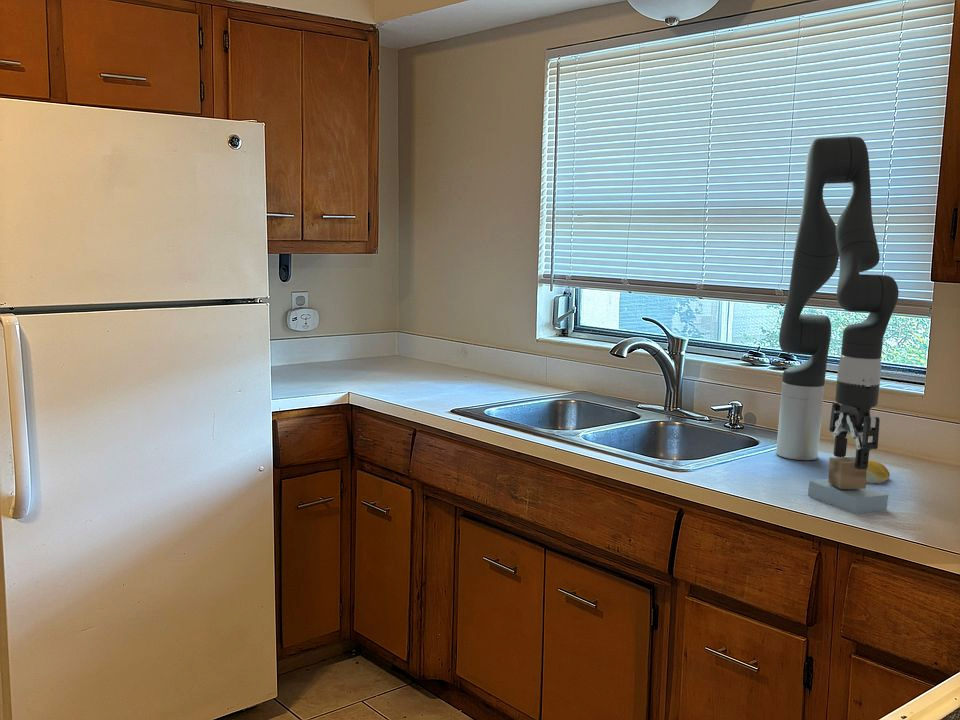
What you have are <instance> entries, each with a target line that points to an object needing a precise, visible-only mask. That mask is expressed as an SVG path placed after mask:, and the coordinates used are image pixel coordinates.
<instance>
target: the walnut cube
mask: <svg viewBox="0 0 960 720" xmlns="http://www.w3.org/2000/svg"><path fill="white" fill-rule="evenodd" d="M855 458H856V456H848V457H847V456H845V457H836V456H833V457H832V456H829V458H828V459H829V462H828V463H829V464H828V478H827V479H828V482H829V483H830V484H832V485H834V486H836V487H838V488H839V489H866V487H867V483H866V472H867V469H857V468H855Z"/></svg>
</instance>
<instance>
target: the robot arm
mask: <svg viewBox="0 0 960 720" xmlns="http://www.w3.org/2000/svg"><path fill="white" fill-rule="evenodd" d="M807 150H808V151H807V155H806V162H805V173H804V182H803V183H804V185H803V195H802V196H803V197H802V206H801V212H800V213H801V214H800V219H799V224H798V230H797V233H796V239H795V246H794V251H793V259H792V264H791V273H790V281H789V282H790V283H789V288H788V293H787V298H786V301H785V306H784V311H783V315H782V319H781V323H780V328H779V335H778V336H779V337H778V338H779V339H778V344H779V348H780V350H782V352H784V353H787V354H794V355H811V357H810V358H809V360H807V361H805V362H804V363H801V364H798V365H796V366H791V367H788V368H786V369H785V370H784V371H783V372H782V378H781V379H782V380H781V381H782V382H781V393H780V394H781V395H780V403H779V404H780V405H779V415H778V425H777V437H776V438H777V439H776V449H775V453H776V455H777V456H779V457H782V458H786V459H790V460H798V461H812V460H813V461H814V460H817V459H818V456H819V449H820V448H819V447H820V446H819V445H820V437H821V428H822V427H821V426H822V425H821V424H822V416H823V406H824V394H825V393H824V392H825V382H826V375H827V374H826V372H827V364H828V356H829V350H830V349H829V348H830V343H831V337H832V322H831V319H830V318H829V316H828V315H824V314H810V313H807V314H806V313H802V311H803V309H804V308H805V306H806V304H807V303H808V301H809V300H810V299H811V298H812V297H813V295H814V294H816V293H817V291H819V290H820V289H821V288H822V287H823V286H824V285H825V284H826V283H827V282H828V281H829V280H830V278H831V277H833V275H834V273H835V272H836V271H837V268H838V265H839V275H838V281H837V289H836V300H837V303H838V305H839V306H840V307H841V308H842V309H843V310H845V311H846V312H851V313H857V312H858V313H860V312H861V313H869V314H868V315H867V317H866V319H864V321H862V322H859V323H853V324H849V325H846V327H845V328H844V329H843V332H842V340H841V341H842V342H841V351H840V359H839V362H838V366H837V377H836V385H835V387H836V388H835V397H834V398H835V399H834V400H835V402H833V403H832V405H831V411H830V420H829V428H828V430H829V432H830V433H832V435H833V437H834V446H833V457H847V456H846V455H847V447H848V436H849V435H851V437H852V439H853V440H854V441H855V446H856V449H855V468H857V469H867V468H868V461H869V460H870V451H871V450H877V449H878V446H879V435H880V423H881V422H880V421H881V420H880V417H878V416H871V409H872V408H875V407H877V406H878V403H879V397H880V396H879V395H880V386H881V377H882V375H881V374H882V353H883V343H884V337H885V333H886V331H887V328H888V325H889V323H890V320H891V317H892V316H893V312H894V311H895V308H896V305H897V302H898V301H899V292H900V291H899V287H898V284H897V282H896V280H895V279H894V278H893V277H891V276H890V275H885V274H863V272H867V271H869V270H872V269H874V268H875V267H876V266H877V265H878V264H879V262H880V249H879V246H878V241H877V236H876V232H875V227H874V220H873V212H872V210H873V209H872V191H871V190H872V189H871V172H870V168H871V167H870V158H869V150H868V148H867V145H866V142H865V141H864V139H862V137H860V136H859V137H858V136H832V137H830V136H827V137H825V136H823V137H818V138H814V139H813V140H812V141H811V143H810V145H809V147H808V149H807ZM826 184H827V185H828V184H829V185H830V184H850V186H851V195H850V197H849V199H848V201H847V203H846V205H845V207H844V209H843V211H842V212H841V214H840V216H839V218H838V221H837V223H836V224H835V222H834V220H833V218H832V217H831V215H830V213H829V211H828V209H827V206H826V204H825V201H824V194H823V193H824V186H825V185H826ZM861 273H862V274H861ZM871 437H872V439H871Z"/></svg>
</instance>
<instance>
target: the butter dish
mask: <svg viewBox="0 0 960 720" xmlns="http://www.w3.org/2000/svg"><path fill="white" fill-rule="evenodd" d="M807 489H808V491H807V496H808V497H810V496H811V498H813V497H814V499H815V500H818V499H819V500H818V501H821V500H822V501H821V502H823V501H824V502H823V503H826V502H827V504H828V503H830V504H829V505H831V504H832V505H831V506H834V507H836V506H837V507H836V508H839V507H840V508H839V509H841V508H842V509H841V510H844V509H845V511H846V510H847V511H846V512H848V513H849V512H850V513H852V514H854V513H855V515H856V513H858V514H864V512H866V513H871V512H870V511H874V512H879V511H878V510H882V511H887V510H888V509H887V508H888V502H889V500H888V499H889V494H888V493H884V492H882V491H879V490H876V489H873V488H870V487H867V486H866V489H839V488H838V487H836V486H834V485H832V484H830V483H829V482H828V478H823V479H813V480H812V479H811V480H809V481H808V488H807Z"/></svg>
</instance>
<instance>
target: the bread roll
mask: <svg viewBox="0 0 960 720" xmlns="http://www.w3.org/2000/svg"><path fill="white" fill-rule="evenodd" d="M890 476H891V473H890V471H889V470H888V468H887V467H886V466H885V465H884V464H883V463H881V462H879V461H875V460H870V459H868V468H867V472H866V484H871V483H878V484H883V482H884V483H885V482H886V480H887V481H888V480H889V479H890Z"/></svg>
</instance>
